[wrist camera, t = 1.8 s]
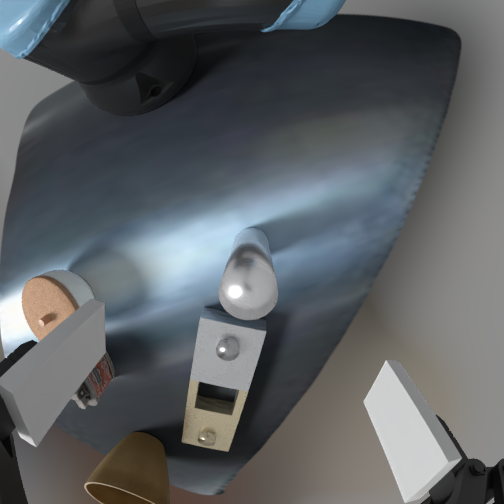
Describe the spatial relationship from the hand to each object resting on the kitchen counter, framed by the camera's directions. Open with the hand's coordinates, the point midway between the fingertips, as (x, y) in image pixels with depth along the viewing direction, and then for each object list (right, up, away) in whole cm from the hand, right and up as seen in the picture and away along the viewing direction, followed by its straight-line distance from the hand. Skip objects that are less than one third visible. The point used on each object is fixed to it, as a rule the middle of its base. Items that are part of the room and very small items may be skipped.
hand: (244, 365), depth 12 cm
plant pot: (-20, -32, +32) cm, 50 cm away
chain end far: (-6, -20, +29) cm, 35 cm away
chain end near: (-4, -10, +26) cm, 28 cm away
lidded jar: (-25, -1, +24) cm, 35 cm away
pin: (0, +6, +22) cm, 23 cm away
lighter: (-23, -12, +27) cm, 38 cm away
